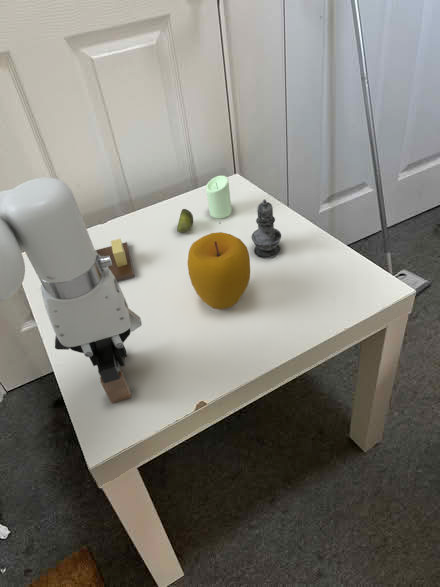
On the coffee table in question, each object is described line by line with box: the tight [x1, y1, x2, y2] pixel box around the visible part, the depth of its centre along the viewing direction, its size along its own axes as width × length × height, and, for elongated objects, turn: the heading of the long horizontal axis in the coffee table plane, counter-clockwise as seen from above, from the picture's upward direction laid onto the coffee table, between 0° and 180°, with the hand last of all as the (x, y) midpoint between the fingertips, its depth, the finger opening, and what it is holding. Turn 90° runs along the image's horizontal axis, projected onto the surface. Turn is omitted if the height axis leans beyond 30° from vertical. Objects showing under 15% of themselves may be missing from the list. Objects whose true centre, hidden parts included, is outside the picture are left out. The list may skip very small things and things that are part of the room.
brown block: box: [99, 357, 132, 404], centre depth 72 cm, size 3×9×6 cm, turn 16°
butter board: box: [95, 241, 136, 283], centre depth 94 cm, size 14×11×1 cm
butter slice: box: [110, 238, 127, 267], centre depth 93 cm, size 2×4×4 cm, turn 16°
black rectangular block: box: [95, 337, 120, 383], centre depth 71 cm, size 2×10×8 cm, turn 16°
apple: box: [187, 231, 251, 310], centre depth 80 cm, size 11×11×13 cm
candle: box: [205, 175, 233, 219], centre depth 101 cm, size 5×5×8 cm
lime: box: [176, 208, 194, 233], centre depth 99 cm, size 4×5×5 cm
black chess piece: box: [251, 198, 282, 260], centre depth 89 cm, size 6×6×12 cm
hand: (111, 361), depth 71 cm, fingers closed on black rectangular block, 2 cm apart
